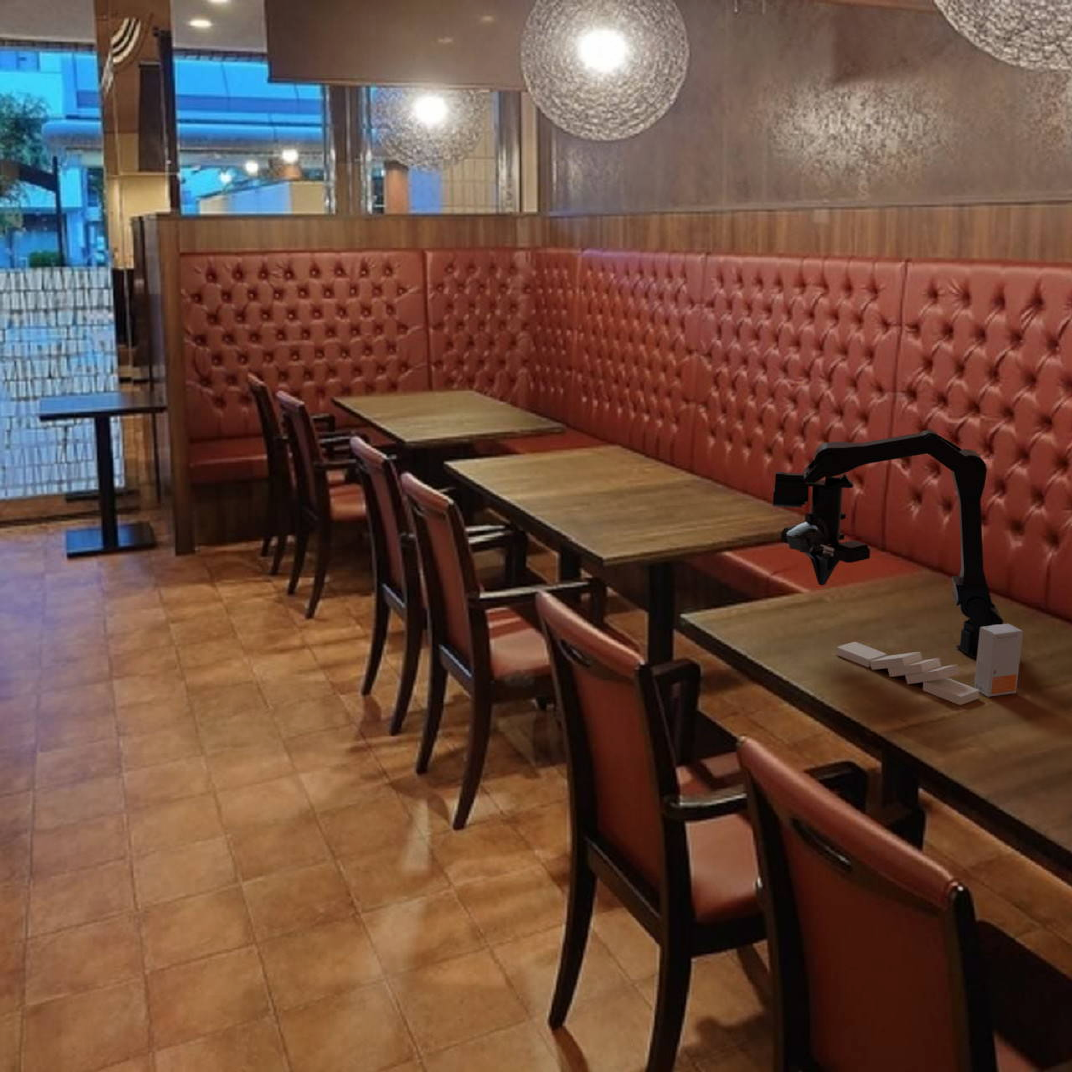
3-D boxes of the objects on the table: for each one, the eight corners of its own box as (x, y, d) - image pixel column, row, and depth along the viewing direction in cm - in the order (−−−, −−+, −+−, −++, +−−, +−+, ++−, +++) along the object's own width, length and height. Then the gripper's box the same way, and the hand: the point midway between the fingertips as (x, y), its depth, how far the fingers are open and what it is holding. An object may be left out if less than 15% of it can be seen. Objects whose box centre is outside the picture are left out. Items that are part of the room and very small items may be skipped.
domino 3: (887, 668, 210) (920, 663, 203) (906, 662, 212) (939, 658, 205) (890, 677, 210) (922, 672, 203) (908, 671, 212) (941, 666, 205)
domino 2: (869, 661, 213) (902, 657, 206) (887, 655, 216) (920, 651, 209) (872, 670, 213) (904, 666, 206) (890, 664, 216) (922, 660, 209)
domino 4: (905, 675, 206) (937, 670, 199) (924, 669, 209) (957, 664, 202) (907, 684, 206) (940, 679, 199) (926, 678, 209) (960, 673, 202)
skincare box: (988, 698, 200) (994, 634, 197) (973, 688, 204) (978, 626, 200) (1017, 693, 201) (1024, 630, 198) (1002, 684, 205) (1008, 622, 202)
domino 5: (923, 682, 203) (960, 696, 196) (941, 675, 206) (979, 690, 199) (922, 690, 203) (960, 705, 197) (941, 684, 206) (978, 698, 199)
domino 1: (836, 646, 220) (868, 659, 214) (854, 641, 223) (886, 653, 216) (836, 654, 221) (867, 667, 214) (854, 649, 223) (886, 662, 217)
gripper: (762, 504, 223) (758, 579, 227) (832, 524, 208) (827, 605, 212) (803, 496, 229) (799, 570, 233) (874, 516, 213) (869, 594, 218)
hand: (821, 584), depth 224 cm, fingers closed
